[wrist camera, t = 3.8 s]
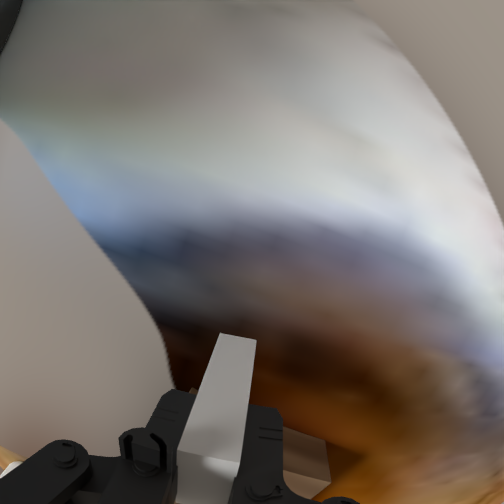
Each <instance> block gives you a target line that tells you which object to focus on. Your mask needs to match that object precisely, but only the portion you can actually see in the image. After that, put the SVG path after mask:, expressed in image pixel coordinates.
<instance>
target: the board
mask: <svg viewBox="0 0 504 504" xmlns="http://www.w3.org/2000/svg"><path fill="white" fill-rule="evenodd" d="M198 391H199V390H196V389H194V388H191V390H190V392H189V393H191V394H196V395H197V394H198ZM283 477H284V481H285V483H286V485H287V486H288V487H289V488H290V490H291V491H293V492H294V493H296V494H297V495H299V496H302V497H304V498H307V499H311V498H313V497H314V496H315V495H317V494H318V493H319V492H320V491H322V490H323V489H324V488H325V487H327V486H328V485H329V484H330V483H331V477H330V470H329V463H328V457H327V450H326V444H325V440H322V439H319V438H316V437H312V436H309V435H306V434H304V433H301V432H298V431H295V430H292V429H289V428H286V427H284V426H283ZM174 504H179V503H176V499H175V502H174Z"/></svg>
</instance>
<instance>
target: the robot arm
mask: <svg viewBox="0 0 504 504" xmlns="http://www.w3.org/2000/svg"><path fill="white" fill-rule="evenodd" d="M21 2H22V0H0V52H1V50H2V48H3V46H4V44H5V42H6V40H7V38H8V36H9V34H10V31H11V29H12V27H13V24H14V22H15V19H16V17H17V14H18V11H19V9H20V6H21ZM255 348H256V340H253V339H248V338H242V337H237V336H232V335H227V334H222V333H220V335H219V337H218V340H217V343H216V345H215V348H214V351H213V353H212V356H211V359H210V362H209V364H208V367H207V370H206V372H205V375H204V378H203V381H202V383H201V386H200V389H199V391H198V394H197V395H196V394H191V393H187V392H183V391H179V390H175V389H171V390H170V391H168V392H167V393H166V394H164V395H163V396H162V397H161V399H160V401H159V402H158V404H157V407H156V408H155V410H154V412H153V414H152V416H151V418H150V420H149V422H148V424H147V425H146V427H145V428H133V429H130V430H128V431H126V432H124V433H123V434H122V435H121V436H120V437H119V445H120V453H121V456H118V457H103V456H94V455H88V452H87V450H86V449H85V448H84V447H83V446H82V445H80V444H78V443H76V442H74V441H70V440H55V441H53V442H51V443H49V444H47V445H46V446H45V447H43V448H42V449H41V450H39V451H38V452H37V453H35V454H34V455H32V456H31V457H30V458H28V459H27V460H25V461H24V462H23V463H21V464H20V465H19V466H17V467H16V468H14V469H13V470H12V471H10V472H9V473H7V474H6V475H5V476H3V477H2V478H0V504H174V502H175V499H176V503H179V504H360V503H358V502H356V501H355V500H353V499H350V498H346V497H331V498H329V499H326V500H324V501H323V502H322V503H321V502H317V501H314V500H310V499H307V498H304V497H302V496H299V495H297V494H296V493H294V492H293V491H291V490H290V488H289V487H288V486H287V485H286V483H285V481H284V477H283V419H282V417H281V415H280V414H279V412H278V410H277V408H270V407H263V406H257V405H251V404H248V401H249V394H250V386H251V379H252V371H253V363H254V356H255Z"/></svg>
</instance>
